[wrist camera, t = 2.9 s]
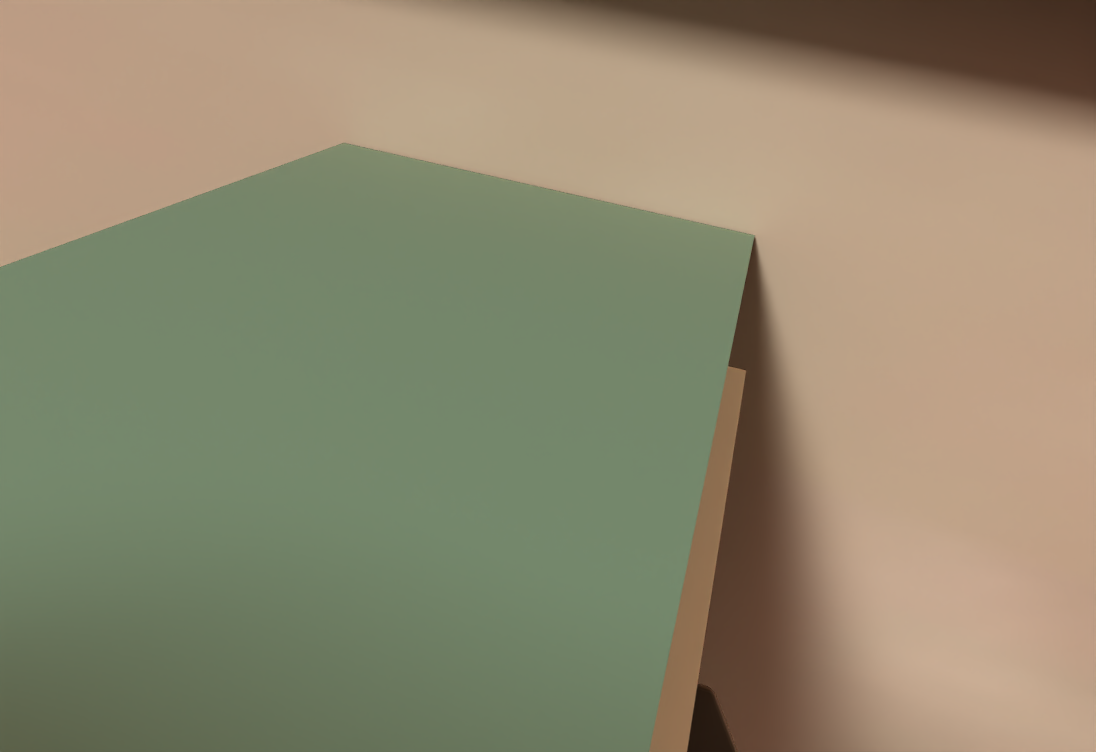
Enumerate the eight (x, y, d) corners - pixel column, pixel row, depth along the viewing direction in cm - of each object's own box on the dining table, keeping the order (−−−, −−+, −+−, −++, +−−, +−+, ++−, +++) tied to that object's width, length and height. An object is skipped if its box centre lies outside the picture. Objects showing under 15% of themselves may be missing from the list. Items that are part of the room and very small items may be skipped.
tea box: (313, 636, 13) (-474, 1687, 5) (343, 143, 10) (-1520, 819, 2) (635, 741, 12) (312, 2178, 4) (774, 239, 9) (555, 1959, 1)
